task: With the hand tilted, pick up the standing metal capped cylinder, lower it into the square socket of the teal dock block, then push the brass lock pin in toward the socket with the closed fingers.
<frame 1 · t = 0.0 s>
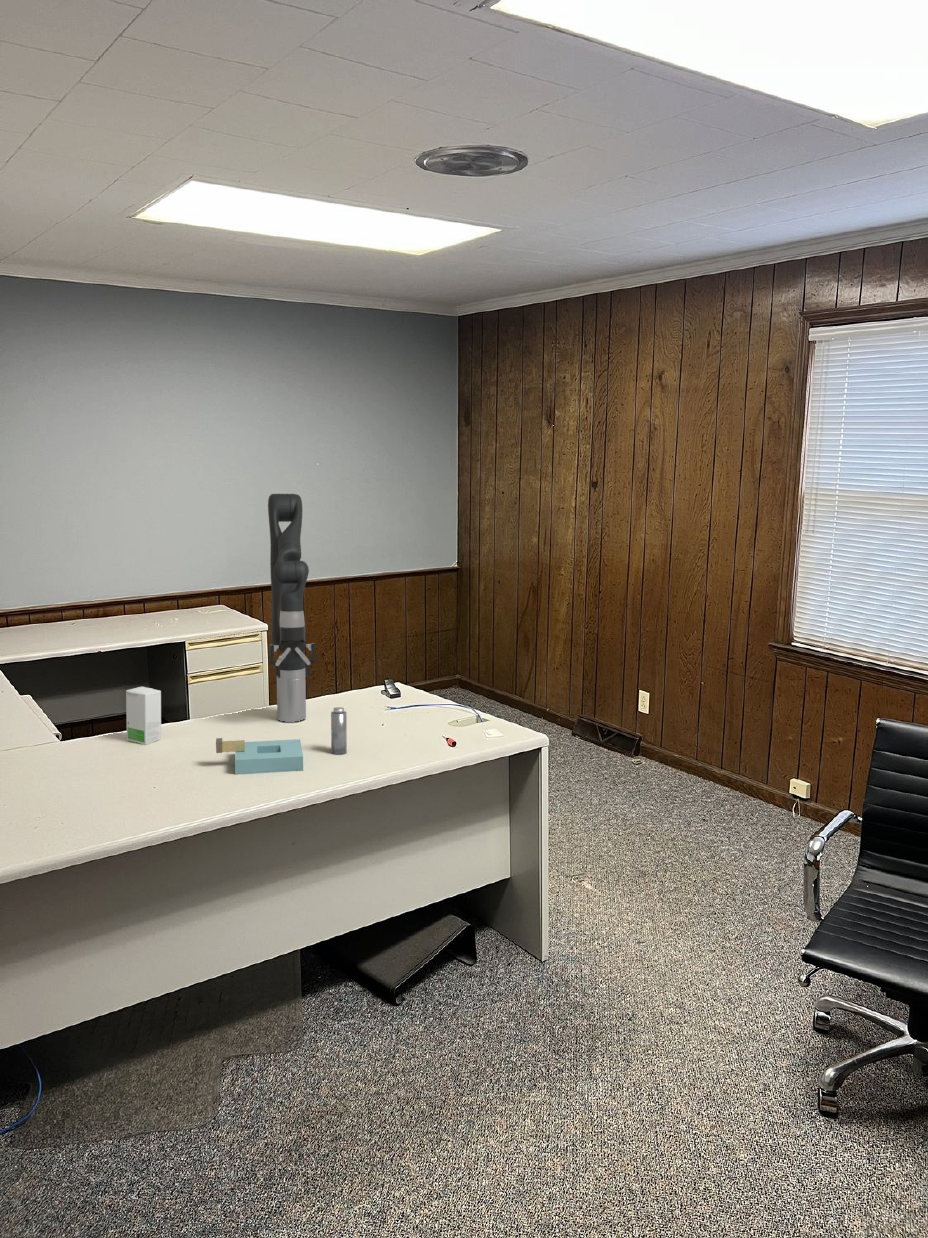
hand: (293, 677, 282), 17 cm above the table, tool pointing down, fingers open, 8 cm apart
lock pin: (230, 745, 250), point 6 cm above the table, slide at 0.0 cm
dock: (269, 763, 253), on the table
skincare box: (145, 741, 272), on the table
metal capped cylinder: (339, 752, 263), on the table
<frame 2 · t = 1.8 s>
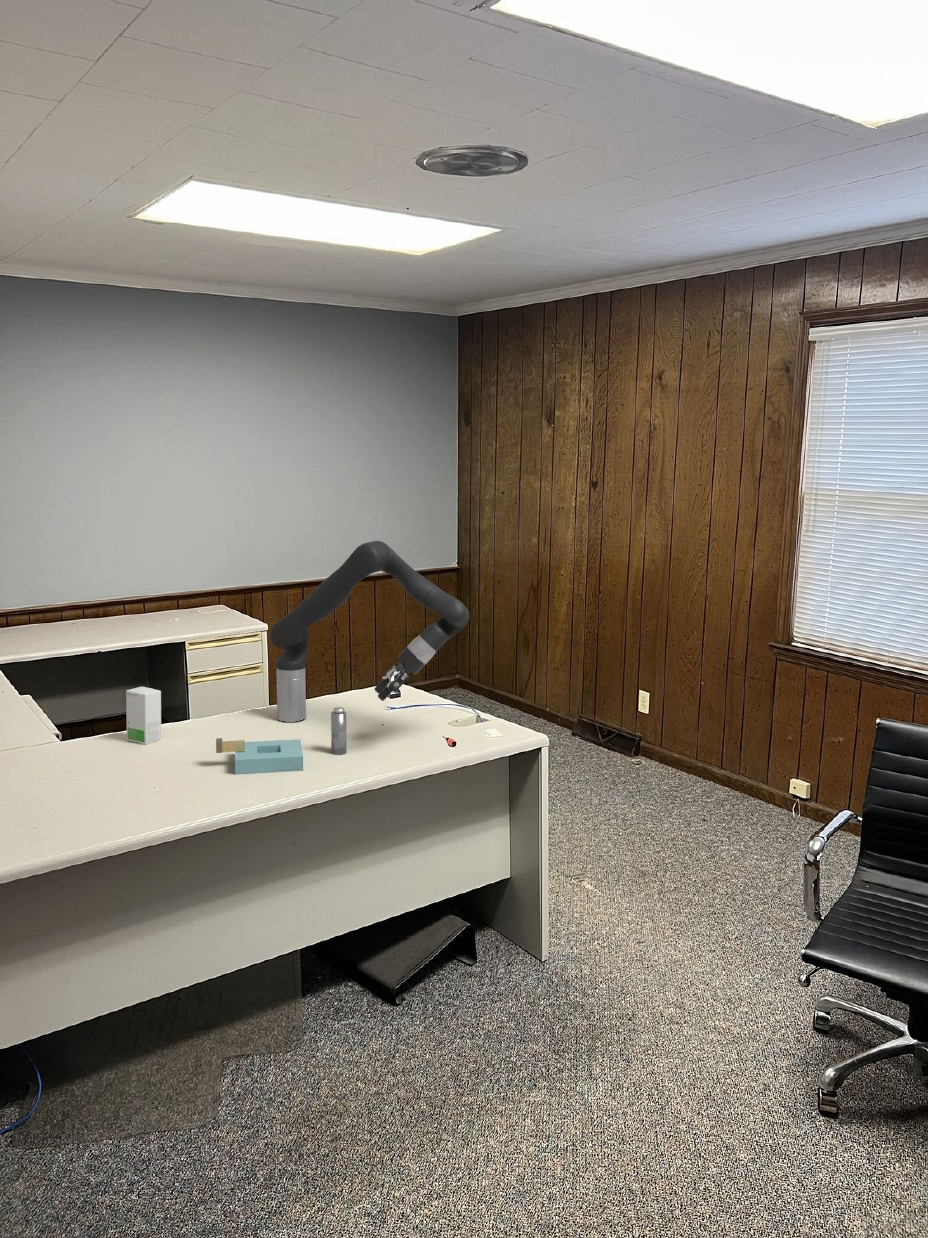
hand: (378, 695, 263), 17 cm above the table, tool tilted 45°, fingers open, 8 cm apart
nothing on the table moved.
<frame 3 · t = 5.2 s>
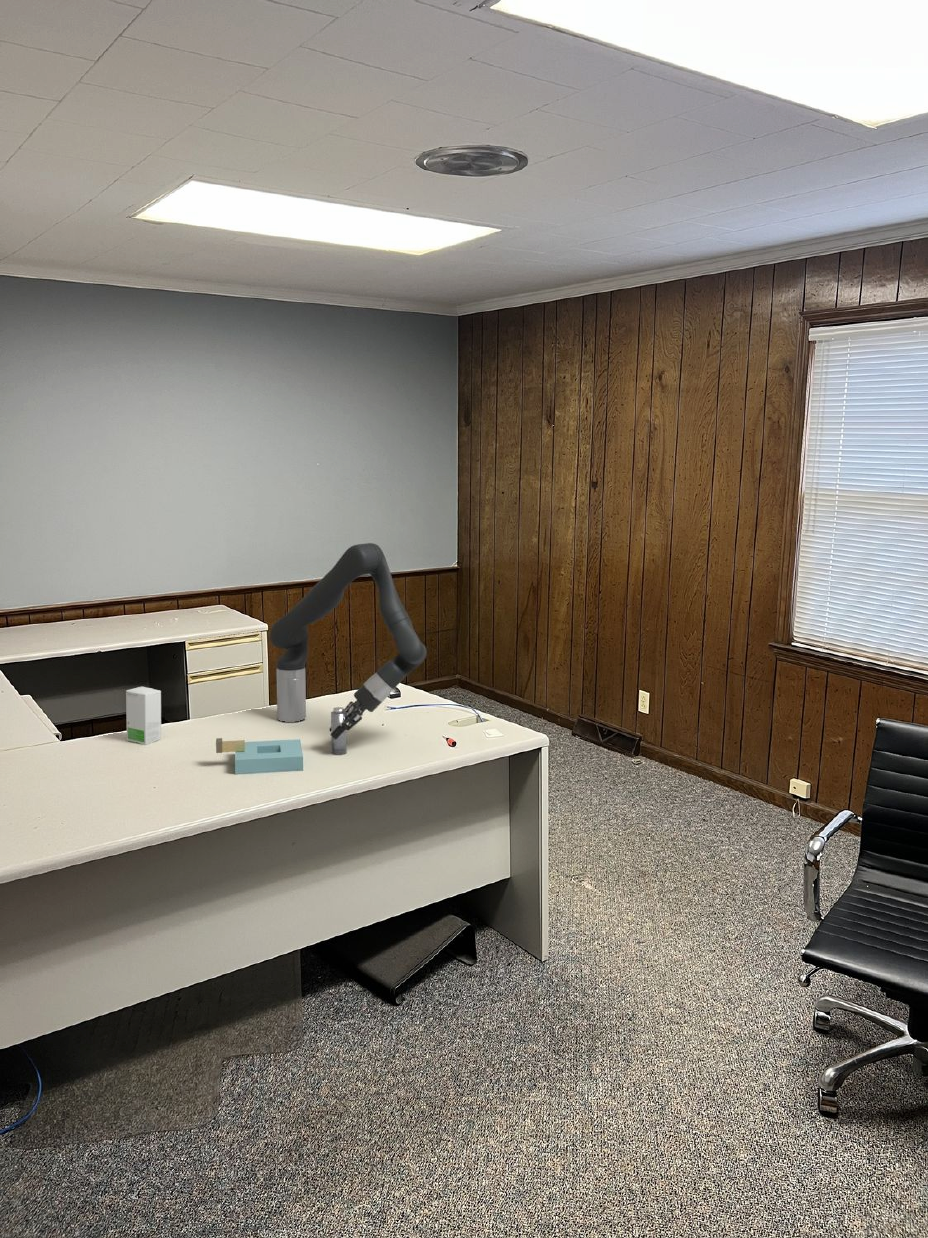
hand: (332, 734, 262), 6 cm above the table, tool tilted 45°, fingers closed on metal capped cylinder, 4 cm apart
metal capped cylinder: (339, 752, 263), on the table, touching gripper
everything else where it was.
when the fingers open (8 cm above the table, at t = 10.8 s): metal capped cylinder drops 1 cm, resting on dock.
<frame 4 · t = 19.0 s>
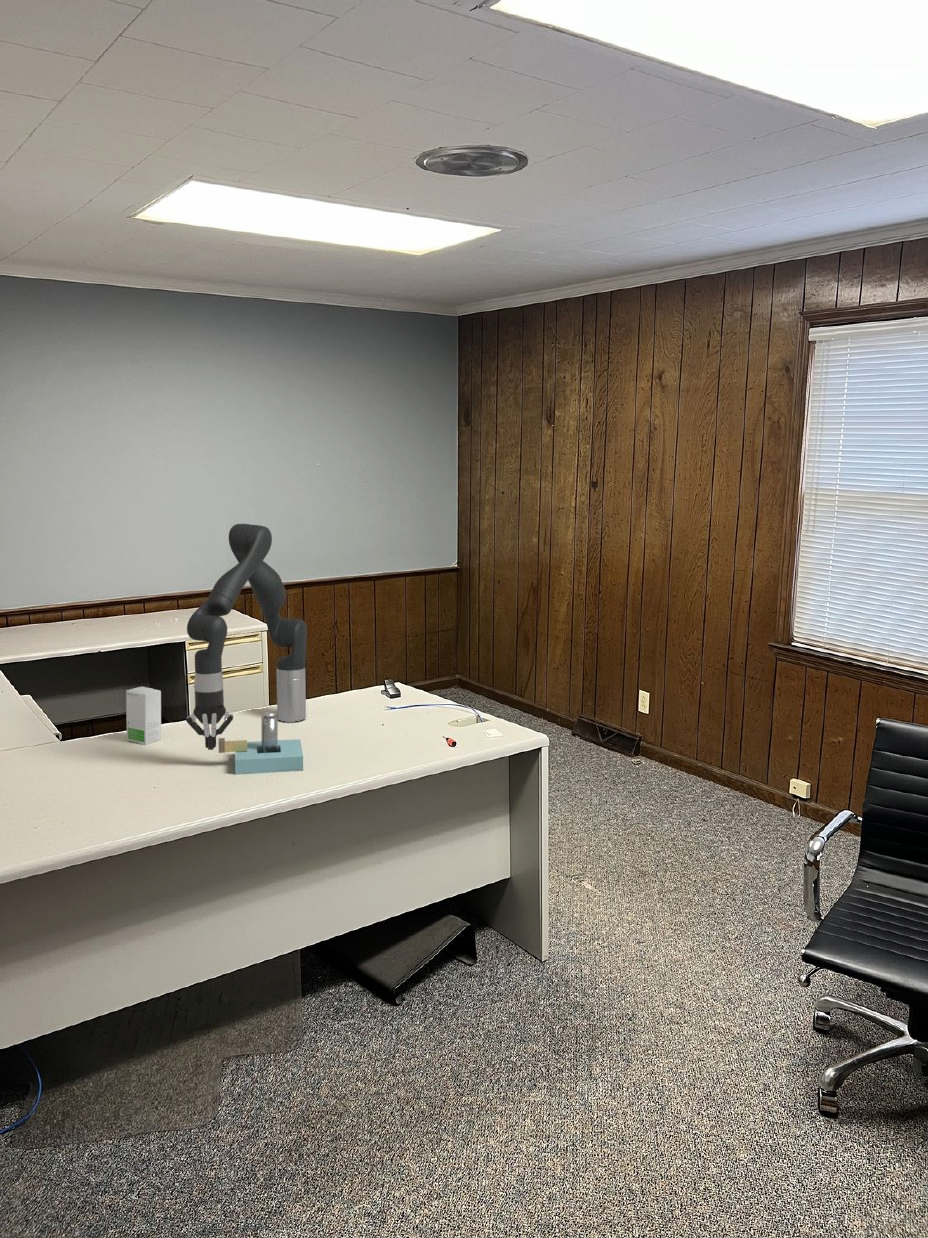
hand: (210, 749, 249), 5 cm above the table, tool pointing down, fingers closed
lock pin: (232, 744, 250), point 6 cm above the table, slide at 0.7 cm, touching gripper
metal capped cylinder: (269, 759, 253), point 1 cm above the table, touching dock
everything else where it was.
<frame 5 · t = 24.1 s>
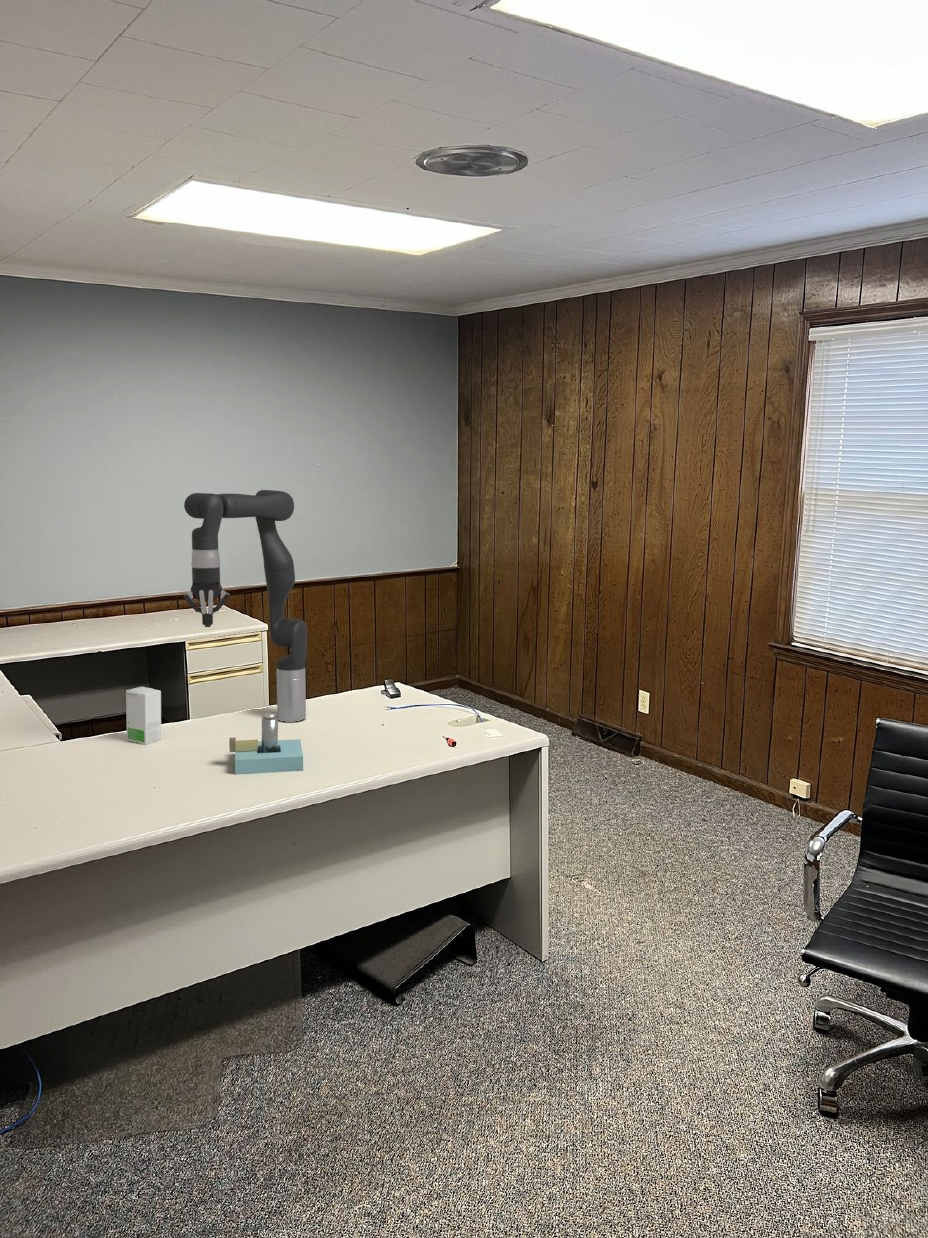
hand: (207, 626, 255), 37 cm above the table, tool pointing down, fingers closed
lock pin: (243, 744, 251), point 6 cm above the table, slide at 3.5 cm
at the end: metal capped cylinder 0.1 cm off-centre on the dock, point 1.1 cm above the dock's base; metal capped cylinder tilted 3°; lock pin slide at 3.5 cm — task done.
